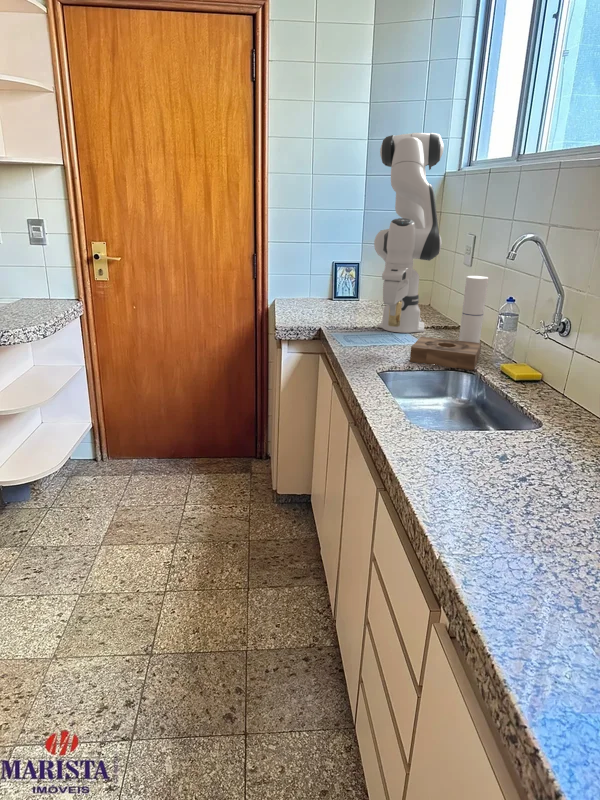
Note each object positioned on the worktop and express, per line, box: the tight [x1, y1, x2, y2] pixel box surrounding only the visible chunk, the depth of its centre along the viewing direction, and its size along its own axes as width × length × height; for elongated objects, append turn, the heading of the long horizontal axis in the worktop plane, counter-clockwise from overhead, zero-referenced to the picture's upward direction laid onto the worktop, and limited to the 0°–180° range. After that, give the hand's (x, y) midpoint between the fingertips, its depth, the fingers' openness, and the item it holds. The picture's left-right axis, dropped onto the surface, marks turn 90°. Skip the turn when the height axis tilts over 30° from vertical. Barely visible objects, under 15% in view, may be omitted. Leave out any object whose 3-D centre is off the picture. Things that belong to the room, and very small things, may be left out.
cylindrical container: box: [458, 275, 489, 343], centre depth 192 cm, size 7×7×25 cm
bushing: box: [388, 301, 402, 327], centre depth 184 cm, size 4×4×8 cm
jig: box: [409, 336, 482, 371], centre depth 181 cm, size 16×20×5 cm
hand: (394, 313), depth 184 cm, fingers closed on bushing, 4 cm apart
